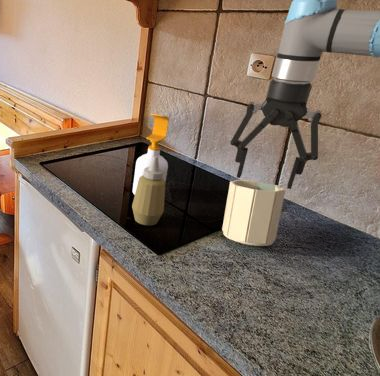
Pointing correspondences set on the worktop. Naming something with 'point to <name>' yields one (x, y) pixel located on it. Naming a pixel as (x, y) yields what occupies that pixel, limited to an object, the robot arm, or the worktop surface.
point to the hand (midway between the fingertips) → (263, 181)
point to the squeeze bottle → (149, 195)
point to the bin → (253, 212)
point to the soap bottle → (153, 150)
